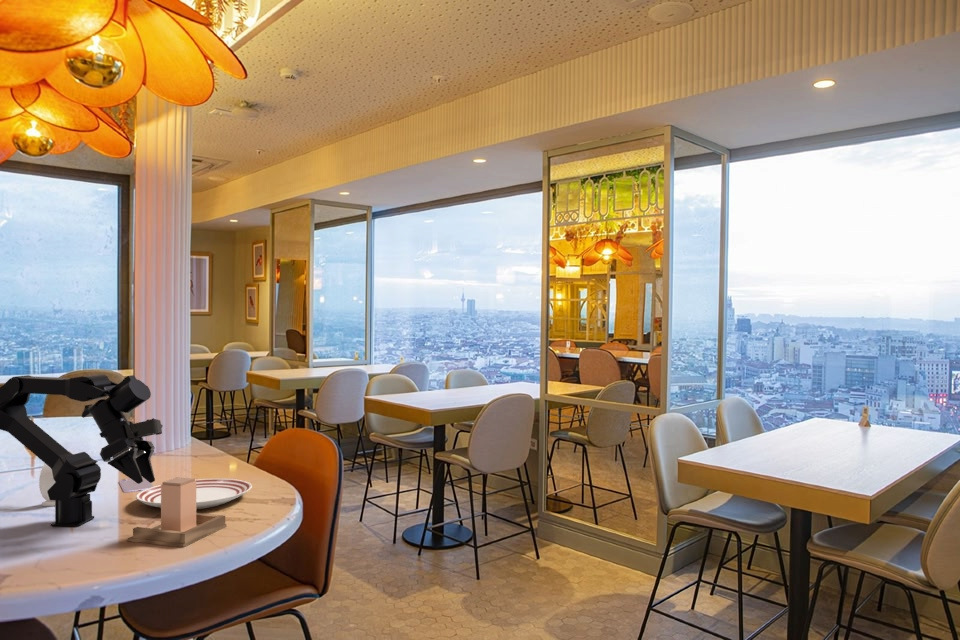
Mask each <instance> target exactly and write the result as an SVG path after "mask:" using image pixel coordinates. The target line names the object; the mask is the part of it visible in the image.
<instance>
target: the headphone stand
mask: <svg viewBox="0 0 960 640" xmlns="http://www.w3.org/2000/svg"><path fill="white" fill-rule="evenodd" d="M38 483H39V484H38V486H39V487H38V488H39V491H40V494H41V497H42V498H43V499H44V500H45V501H43V502H41V507H55V500H50V499H49V496H48V493H47V491H48V490H49V489H50V488H51V487H52V486H53V485H54V483H55V480H54V479H53V473H52V469H51V468H50V467H49V466H48V465H46V464H45V463H44V462H43V465H42V468H41V470H40V474H39V482H38Z"/></svg>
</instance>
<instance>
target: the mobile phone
mask: <svg viewBox="0 0 960 640" xmlns="http://www.w3.org/2000/svg"><path fill="white" fill-rule="evenodd" d="M142 479H143V482H141V483H140V484H138V483H136V482H135V481H133V480H132V479H130V478H125V479H124V478H122V479H121V480H119V482H118V483H119V485H120V487H121V490H122V493H124V494H125V493H126V494H128V493H135V492H141V491H143V490H145V489H148V488H151V487H154V486H155V485H153V484H152V483H153V482H152V483H150V482H148V481H147V480H146V479H145V478H143V477H142Z"/></svg>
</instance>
